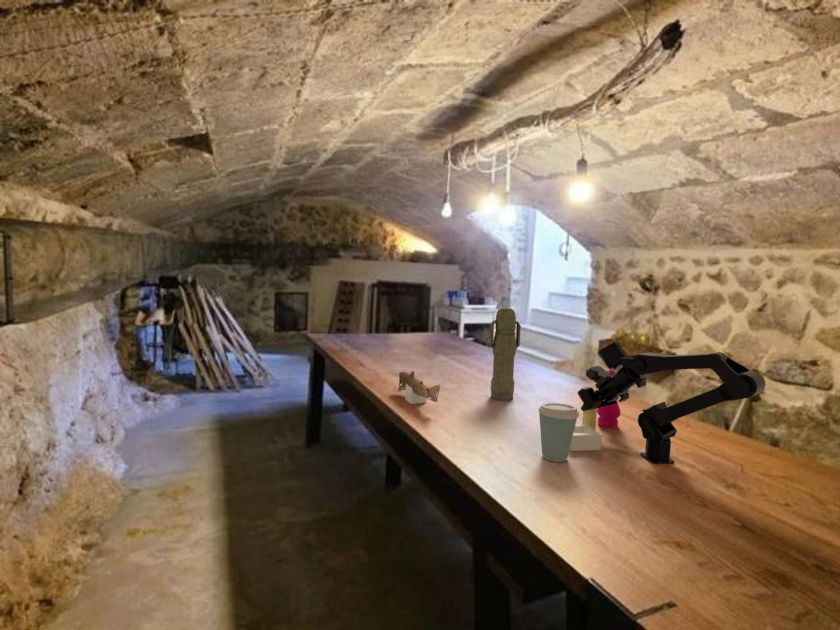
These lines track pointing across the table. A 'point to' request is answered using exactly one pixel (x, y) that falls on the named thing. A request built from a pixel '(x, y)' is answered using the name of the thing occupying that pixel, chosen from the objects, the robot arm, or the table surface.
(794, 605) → the table surface
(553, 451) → the disposable coffee cup
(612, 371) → the pepper mill
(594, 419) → the peg
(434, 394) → the wood carving
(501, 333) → the thermos
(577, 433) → the socket
